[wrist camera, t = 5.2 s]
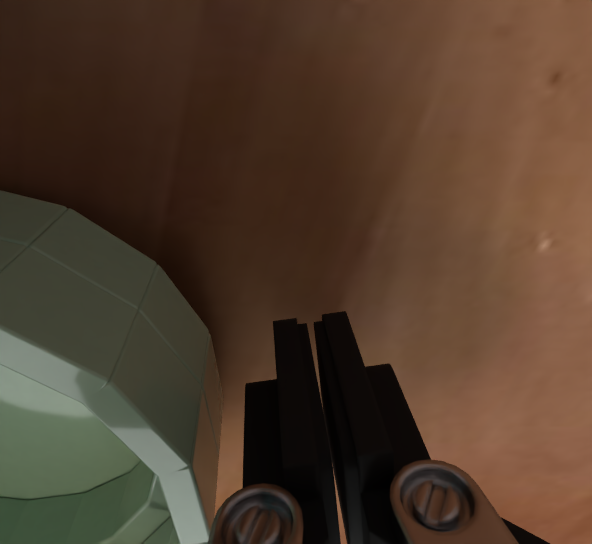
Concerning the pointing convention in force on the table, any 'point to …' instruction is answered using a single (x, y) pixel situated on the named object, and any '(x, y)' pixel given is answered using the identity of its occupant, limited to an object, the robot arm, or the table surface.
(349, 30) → the table surface
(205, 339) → the celadon bowl
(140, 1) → the table surface
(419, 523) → the robot arm
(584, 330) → the table surface
